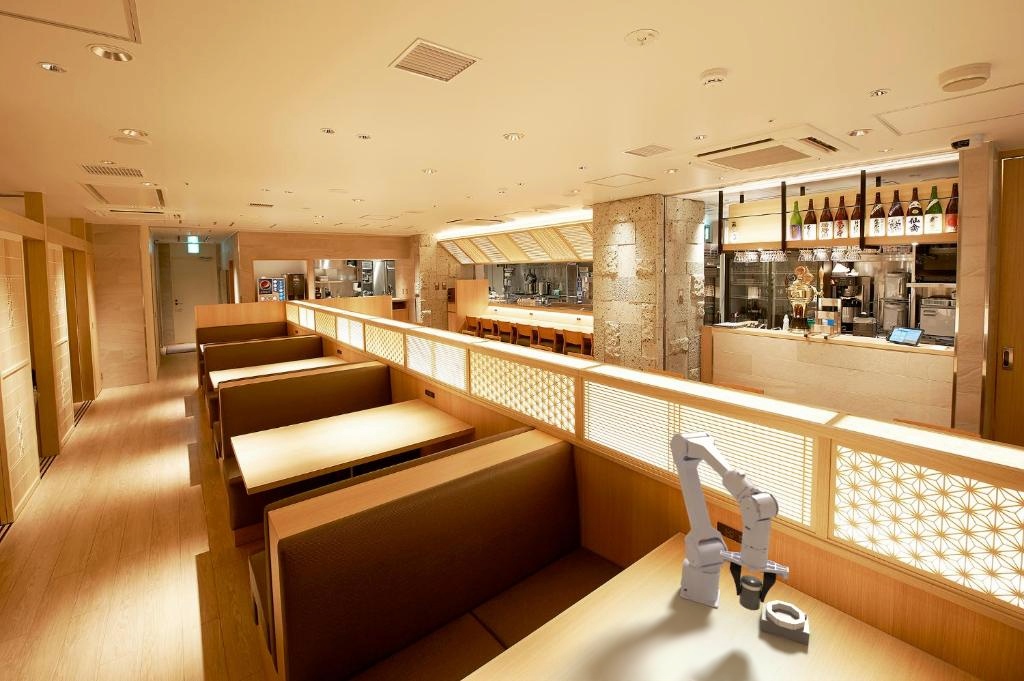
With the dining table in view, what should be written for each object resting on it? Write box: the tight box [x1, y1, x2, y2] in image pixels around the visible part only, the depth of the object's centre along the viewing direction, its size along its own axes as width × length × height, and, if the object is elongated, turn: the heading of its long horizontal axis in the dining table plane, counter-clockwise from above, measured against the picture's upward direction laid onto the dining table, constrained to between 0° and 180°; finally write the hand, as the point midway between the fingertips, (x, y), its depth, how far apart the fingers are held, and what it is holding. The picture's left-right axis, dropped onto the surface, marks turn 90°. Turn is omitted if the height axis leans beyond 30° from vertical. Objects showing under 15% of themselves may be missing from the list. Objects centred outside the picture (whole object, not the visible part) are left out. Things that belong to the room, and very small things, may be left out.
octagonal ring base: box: [760, 599, 810, 646], centre depth 121 cm, size 10×8×4 cm
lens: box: [738, 574, 763, 611], centre depth 117 cm, size 5×5×6 cm
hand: (750, 596), depth 118 cm, fingers closed on lens, 4 cm apart
